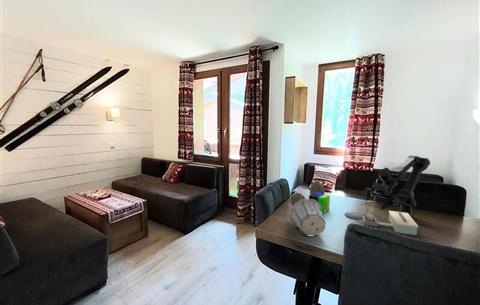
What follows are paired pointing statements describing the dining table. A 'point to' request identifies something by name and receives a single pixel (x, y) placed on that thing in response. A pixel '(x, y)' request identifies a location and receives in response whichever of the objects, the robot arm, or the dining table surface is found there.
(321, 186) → the decorative egg
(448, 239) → the dining table surface
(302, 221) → the tipped over flowerpot
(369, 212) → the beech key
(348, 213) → the rubber mat
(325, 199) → the puzzle toy
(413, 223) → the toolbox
